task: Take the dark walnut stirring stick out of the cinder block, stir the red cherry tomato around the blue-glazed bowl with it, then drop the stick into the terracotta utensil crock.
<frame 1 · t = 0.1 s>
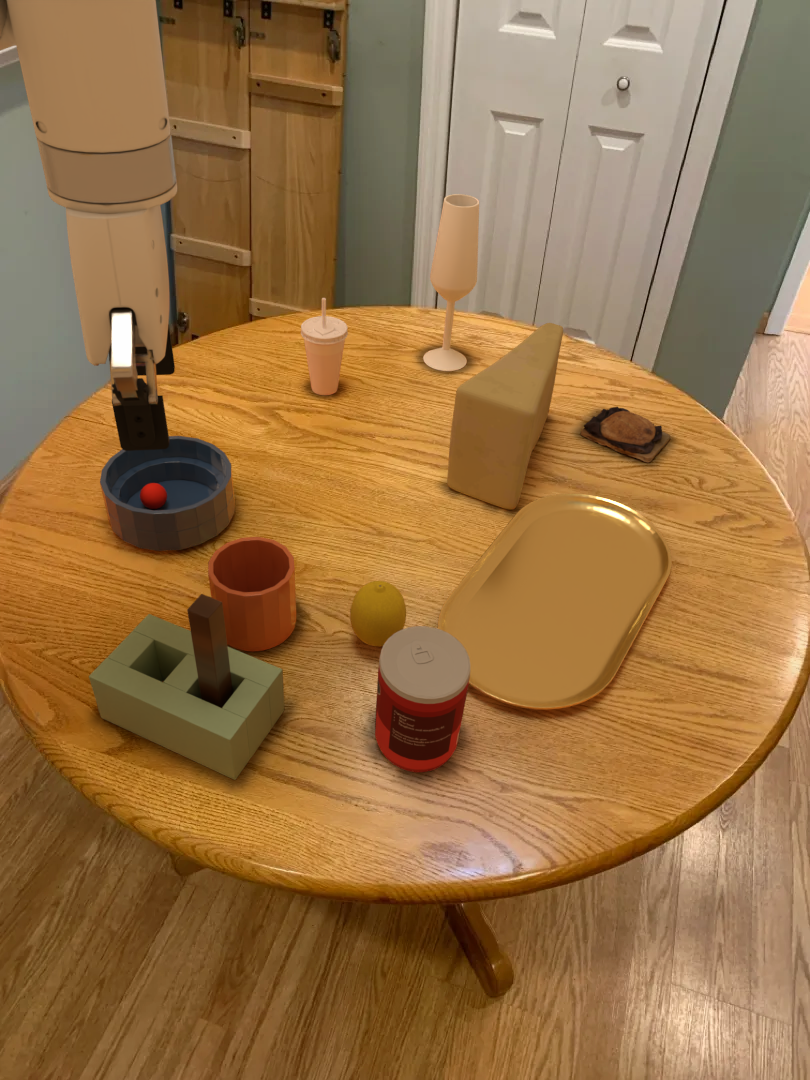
hand: (150, 408, 62), 30 cm above the table, tool pointing down, fingers open, 9 cm apart
champagne flute: (444, 360, 129), on the table
canned food: (415, 739, 78), on the table
stick: (221, 726, 77), resting in cinder block
cheese: (511, 457, 111), on the table
crock: (256, 621, 87), on the table
bowl: (173, 513, 99), on the table
smoothie: (324, 389, 121), on the table
lemon: (376, 642, 86), on the table
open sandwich: (624, 438, 116), on the table
serving platter: (558, 597, 93), on the table
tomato: (153, 495, 97), point 2 cm above the table, touching bowl
cinder block: (194, 713, 78), on the table
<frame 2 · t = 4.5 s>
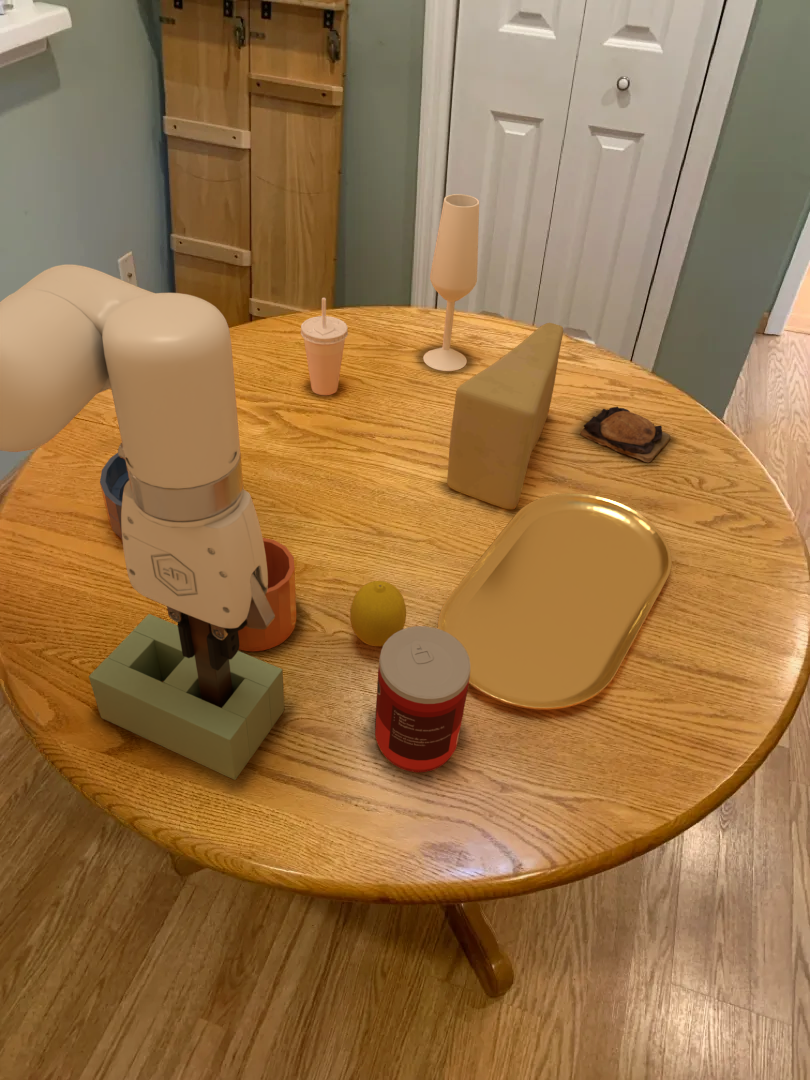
hand: (211, 650, 70), 11 cm above the table, tool pointing down, fingers closed on stick, 2 cm apart
stick: (221, 726, 77), resting in cinder block, touching gripper
everything else where it was.
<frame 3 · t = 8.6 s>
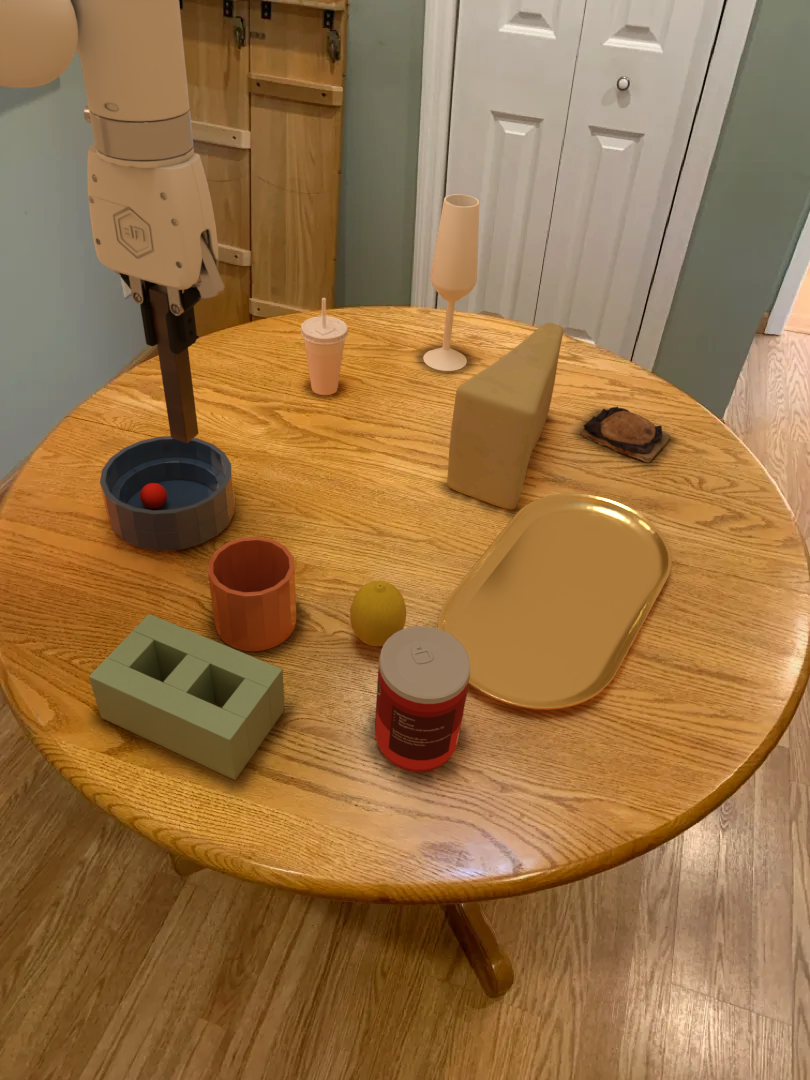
hand: (171, 342, 78), 25 cm above the table, tool pointing down, fingers closed on stick
stick: (184, 435, 85), point 15 cm above the table, touching gripper
everything else where it was.
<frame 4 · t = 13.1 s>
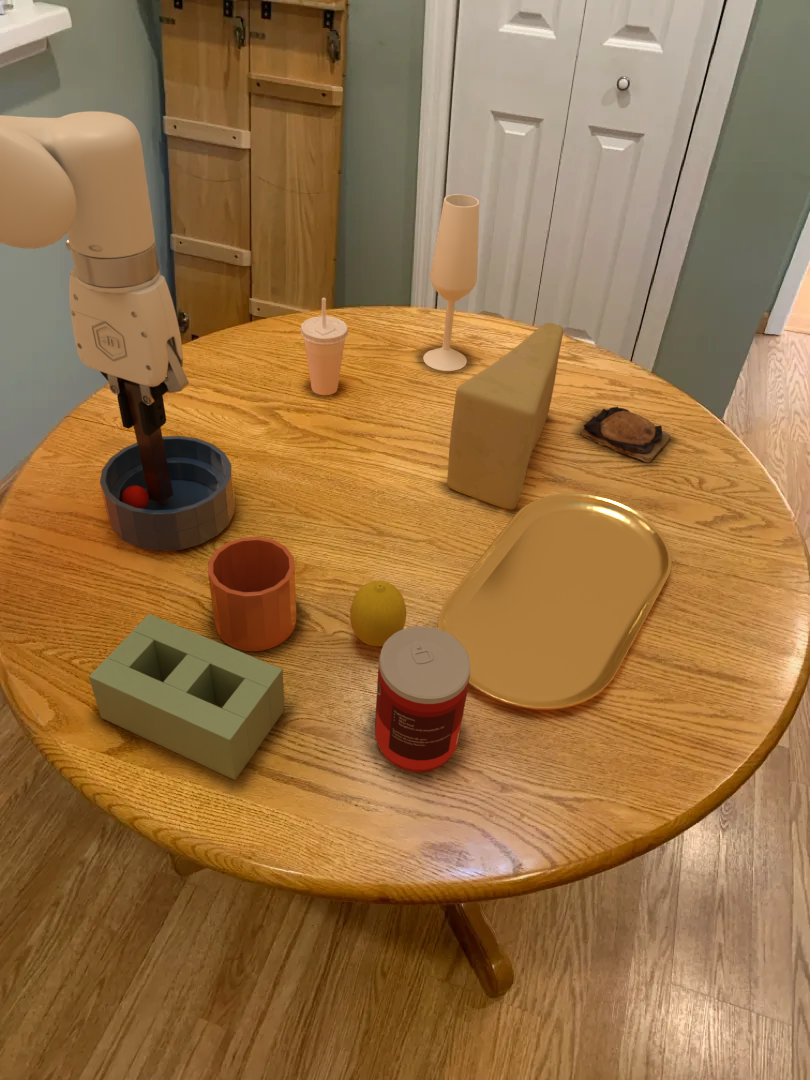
hand: (145, 424, 91), 12 cm above the table, tool pointing down, fingers closed on stick, 2 cm apart
stick: (161, 497, 98), point 2 cm above the table, touching gripper, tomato
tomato: (135, 498, 97), point 2 cm above the table, tilted 78°, touching bowl, stick
everything else where it was.
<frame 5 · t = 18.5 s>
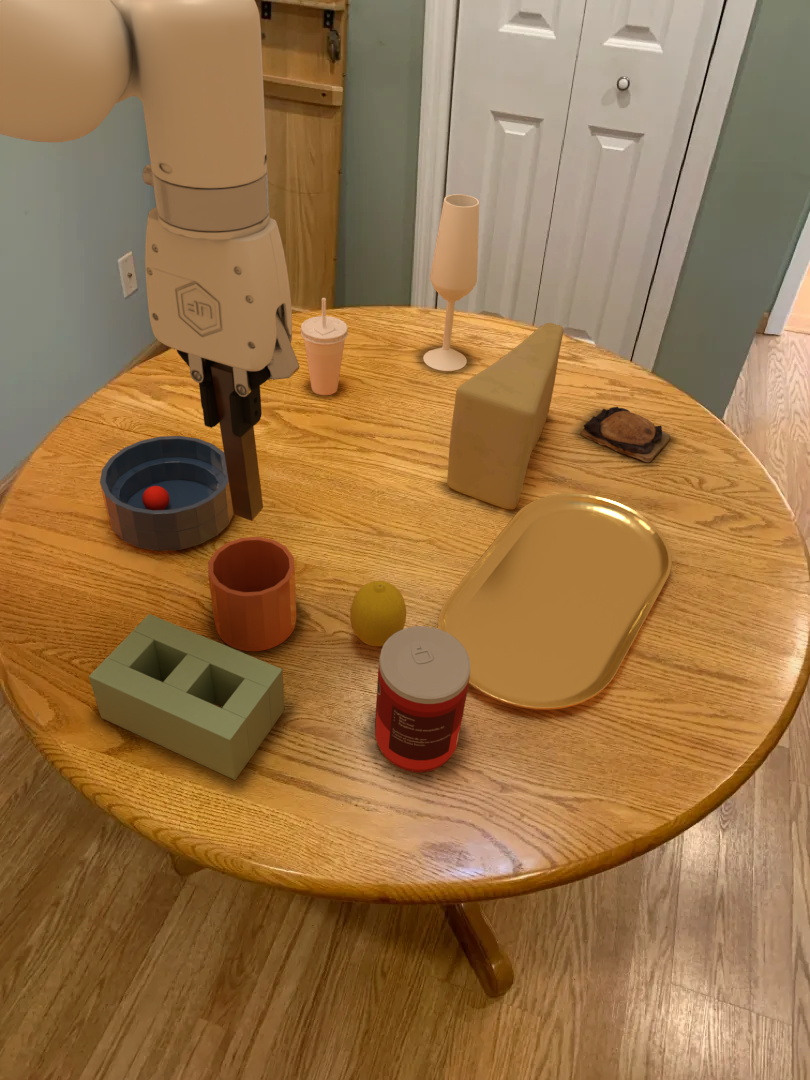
hand: (232, 422, 69), 25 cm above the table, tool pointing down, fingers closed on stick
stick: (248, 511, 77), point 15 cm above the table, touching gripper
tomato: (155, 498, 97), point 2 cm above the table, tilted 15°, touching bowl
everything else where it was.
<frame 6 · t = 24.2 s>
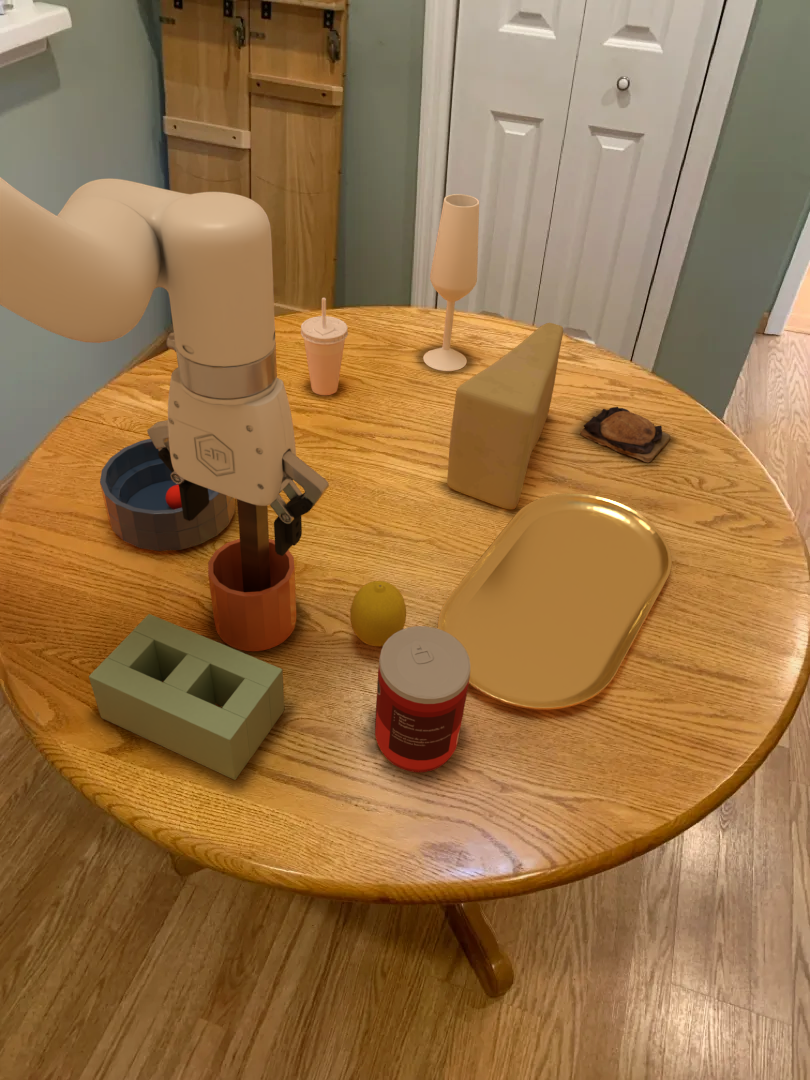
hand: (241, 528, 77), 14 cm above the table, tool pointing down, fingers open, 9 cm apart
stick: (258, 616, 87), point 1 cm above the table, touching crock
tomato: (179, 497, 98), point 2 cm above the table, tilted 111°, touching bowl
everything else where it was.
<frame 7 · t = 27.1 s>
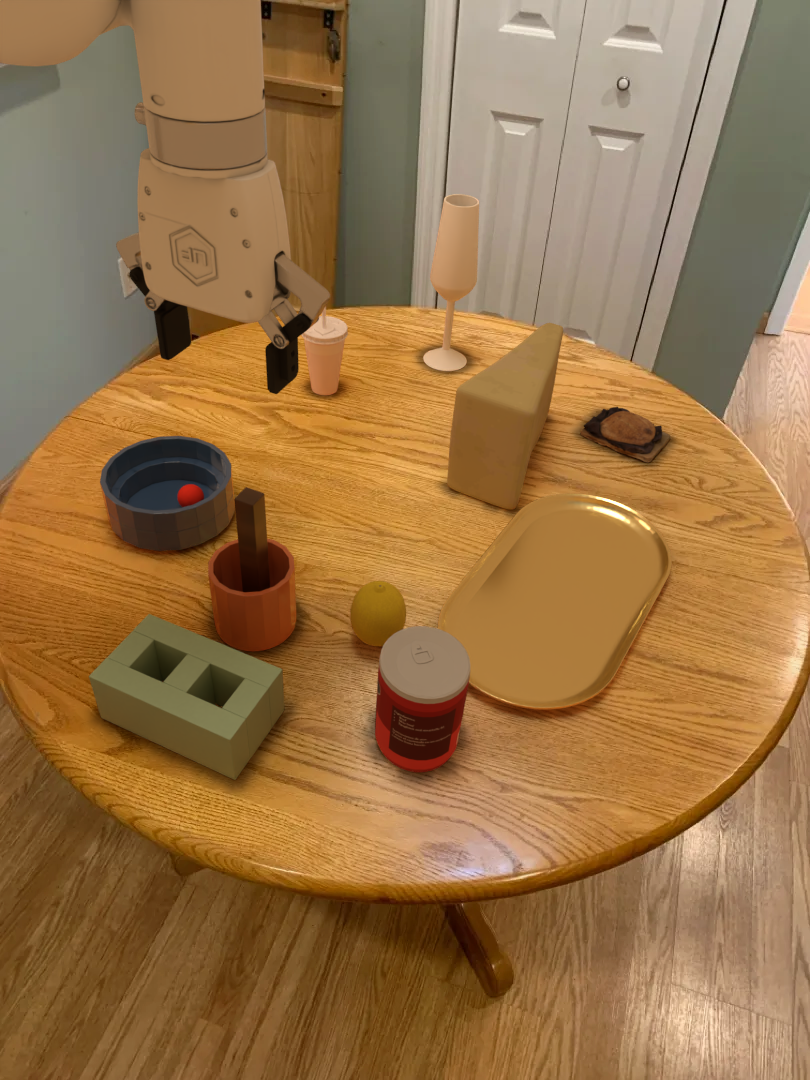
hand: (228, 368, 66), 30 cm above the table, tool pointing down, fingers open, 9 cm apart
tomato: (190, 497, 98), point 2 cm above the table, tilted 161°, touching bowl
everything else where it was.
at the end: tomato moved 4.3 cm from its start; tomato inside the target area in the bowl (2.3 cm from its centre), point 2.1 cm above the bowl's base; stick inside the target area in the crock (0.3 cm from its centre), point 0.6 cm above the crock's base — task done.
